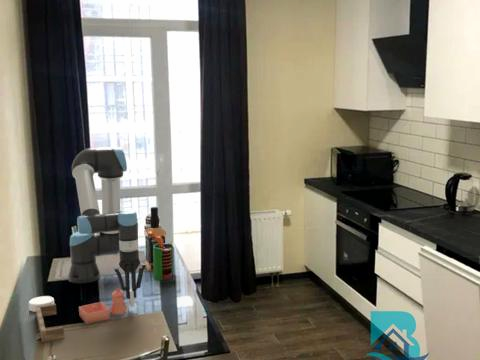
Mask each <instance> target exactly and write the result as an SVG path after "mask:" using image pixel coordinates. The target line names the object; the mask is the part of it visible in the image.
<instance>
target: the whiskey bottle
mask: <svg viewBox="0 0 480 360" xmlns="http://www.w3.org/2000/svg"><path fill="white" fill-rule="evenodd" d="M150 214H151V218H150V225H151V226H150V227H149V228H147V229H146V230H145V229H144V235H145V236H144V239H145V241H144V242H145V259H144V264H145V265H146V267H145V269H146V270H147V271H148V272H150V273H151V272H152V273H154V266H153V246H154V245H155V244H159V242H158V241H155V237H157V236H160V237H162V240H163V243H166V235H167V231H166V230H165V229H164V228H162V226H161V227H159V219H160V218H158V216H159V208H158V207H157V206H151V207H150Z"/></svg>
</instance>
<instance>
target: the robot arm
mask: <svg viewBox="0 0 480 360" xmlns="http://www.w3.org/2000/svg"><path fill="white" fill-rule="evenodd" d="M127 171H128V165H127V159H126V156H125V152H124V149H123V148H121V147H118V146H117V147H116V146H115V147H114V146H109V147H108V146H103V147H88V148H85V149H83V150H82V151H80V152H79V153H78V154H77V155H76V156H75V158H74V160H73V161H72V164H71V174H72V177H73V178H74V179H75V185H76V191H77V198H78V203H79V204H78V205H79V209H80V215H79V216H77V219H76V220H77V222H76V225H77V231H75V232H74V233H72V234H71V235H70V237H69V247H70V249H69V250H70V267H69V271H68V274H67V280H68V282H69V283H73V284H89V283H93V282H96V281H99V280H100V279H101V276H102V275H101V270H100V268H99V265H98V263H97V257H102V256H104V257H105V256H111V255H112V256H113V255H115V256H117V255H119V263H118V266H116V267H113V271H114V272H115V273H116V275H117V279H118V282H119V285H120V290H121V291H123V292H125V295H126V297H125V298H127V299H128V305H129V306H130V308H131V307H132V308H133V307H135V298H136V297H137V290H138V289H140V288H141V285H142V281H143V277H144V271H145V269H146V265H145V262H144V263H142V262H141V261H140V253H139V252H140V251H139V235H138V234H139V231H138V229H139V227H138V221H139V220H138V219H139V218H138V214H137V212H136V211H133V210H121V179H122V178H123V176H124V173H125V172H127ZM94 174H97V177H98V178H100V179H101V182H100V183H101V211H100V207H99V201H98V197H97V193H96V192H97V191H96V185H95V180H94ZM100 212H101V213H100ZM122 270H123V272H124V279H123V277H122V276H123V275H122V274H121V271H122ZM137 270H138V273H137V272H136V271H137ZM136 273H137V275H136ZM130 276H131V279H130ZM136 276H137V277H136ZM130 280H131V282H130ZM130 285H131V286H130Z"/></svg>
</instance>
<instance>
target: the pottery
mask: <svg viewBox="0 0 480 360" xmlns="http://www.w3.org/2000/svg"><path fill="white" fill-rule="evenodd" d="M124 292H125V291H123V290H122V289H121V287H118V288H115V290H114V291H113V292H111V295H112V297H111V302H112V303H111V305H110V308H108V307H107V306H106V305H105V304H104V303H103V302H102V301H99V302H94V303H90V304H85V305H81V306H78V312H79V314H78V315H79V317H80V318H81V320H82V321H83V322H84V323H85V324H86V325H88V324H89V325H90V324H92V323H93V324H94V323H96V322H97V323H98V322H101V321H104V320H110V312H111V314H113V315H122V314H125V313H126V312H127V310H128V305H127V303H126V302H125V299H126V297H125V293H124Z"/></svg>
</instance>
